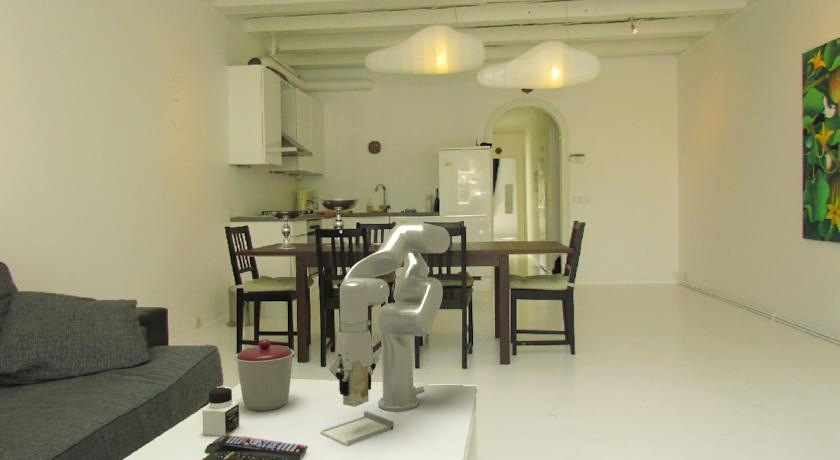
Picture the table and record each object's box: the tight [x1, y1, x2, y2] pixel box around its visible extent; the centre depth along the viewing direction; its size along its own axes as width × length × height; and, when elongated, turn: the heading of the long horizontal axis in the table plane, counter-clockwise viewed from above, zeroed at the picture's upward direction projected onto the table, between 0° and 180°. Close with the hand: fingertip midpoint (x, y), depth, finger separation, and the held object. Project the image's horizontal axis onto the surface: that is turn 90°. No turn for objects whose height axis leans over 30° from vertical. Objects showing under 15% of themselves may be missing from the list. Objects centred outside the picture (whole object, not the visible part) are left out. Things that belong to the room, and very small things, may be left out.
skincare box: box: [342, 361, 369, 408], centre depth 153 cm, size 6×4×12 cm
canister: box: [234, 338, 295, 412], centre depth 176 cm, size 18×18×21 cm
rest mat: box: [319, 411, 395, 447], centre depth 153 cm, size 16×12×2 cm
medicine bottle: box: [201, 386, 240, 437], centre depth 155 cm, size 7×7×12 cm
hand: (355, 391), depth 153 cm, fingers closed on skincare box, 6 cm apart
